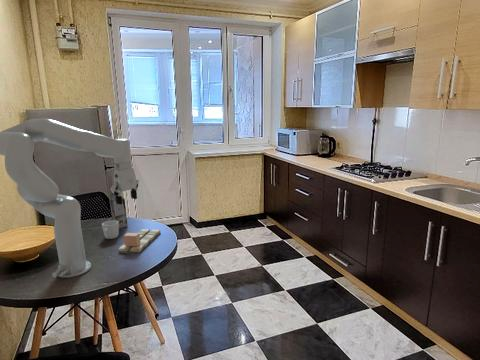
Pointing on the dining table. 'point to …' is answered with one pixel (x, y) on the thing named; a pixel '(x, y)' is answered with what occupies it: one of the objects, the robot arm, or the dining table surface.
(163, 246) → the dining table surface
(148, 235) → the slider board
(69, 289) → the dining table surface
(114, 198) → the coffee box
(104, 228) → the cup
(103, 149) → the robot arm
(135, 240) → the fader tab
